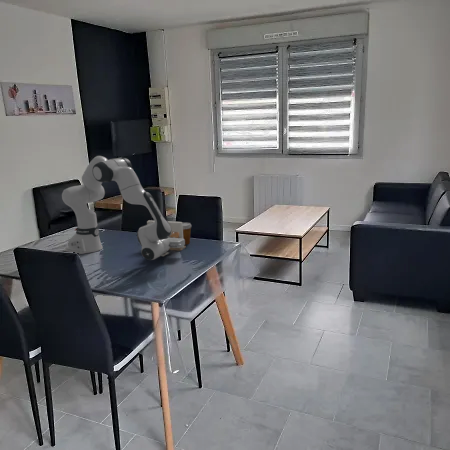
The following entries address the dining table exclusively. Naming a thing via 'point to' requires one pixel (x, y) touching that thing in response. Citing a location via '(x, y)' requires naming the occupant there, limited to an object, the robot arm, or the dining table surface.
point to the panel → (174, 228)
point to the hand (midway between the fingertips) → (172, 238)
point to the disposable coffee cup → (186, 232)
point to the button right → (175, 235)
